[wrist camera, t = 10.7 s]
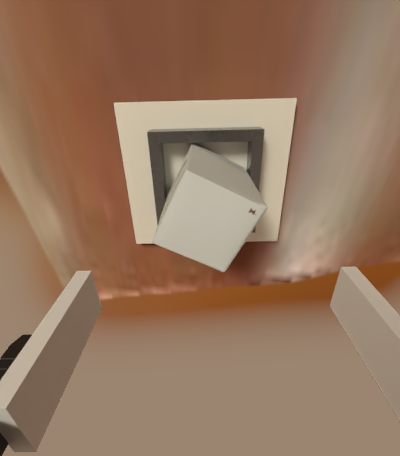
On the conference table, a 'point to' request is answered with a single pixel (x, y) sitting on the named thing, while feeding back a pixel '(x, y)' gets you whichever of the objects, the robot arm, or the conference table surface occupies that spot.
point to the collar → (201, 136)
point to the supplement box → (209, 209)
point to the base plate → (205, 118)
